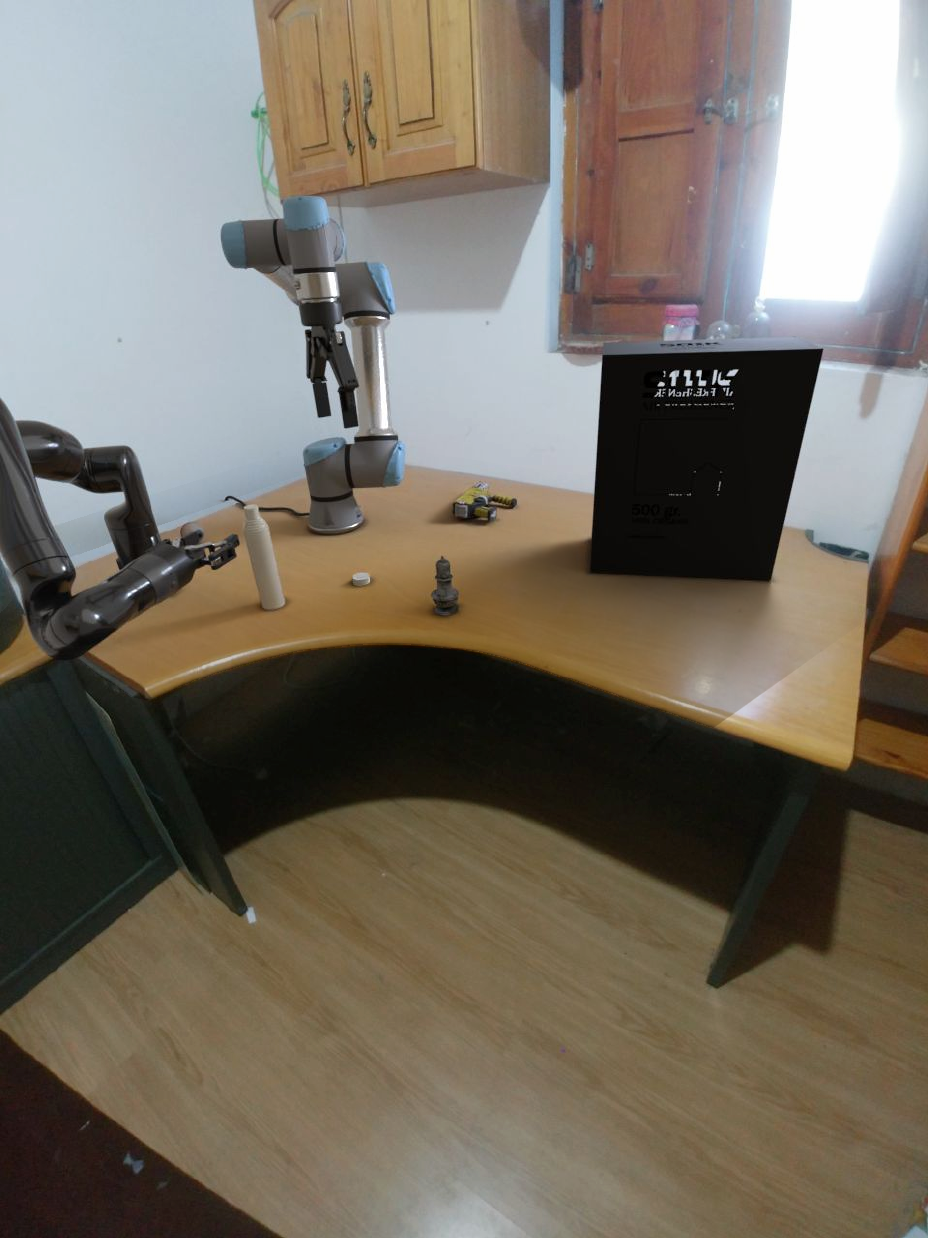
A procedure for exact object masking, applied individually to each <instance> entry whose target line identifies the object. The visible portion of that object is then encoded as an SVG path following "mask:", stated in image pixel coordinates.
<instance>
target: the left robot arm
mask: <svg viewBox="0 0 928 1238" xmlns="http://www.w3.org/2000/svg"><path fill="white" fill-rule="evenodd" d="M36 478H37V479H41V480H44V481H45V480H46V481H49V482H50V481H51V482H56V483H63V484H70V485H72V486H75V487H77V488H79V489H82V490H84V491H86V492H89V493H93V494H101V495H105V494H116V493H117V494H118V493H123V497H124V501H123V502H121V503H119V504H117V505H114V506H113V507H111V508H109V509H108V510H106V511H105V513H103V519H104V523H105V526H106V528H107V531H108V533H109V536H110V538H111V541H112V544H113V548H114V549H115V552H116V555H117V558H116V559H115V563H116V565H117V568H118V571H117V572H114V573H113V574H111V575H109V576H108V577H106V578H104V579H103V580H102V581H100V582H99V583H98V584H95V585H93V586H91V587H90V586H89V587H88V588H85V589H84V590H82V591H80V592H77V593H76V594H73V595H72V588H73V586H74V585H73V584H74V583H75V581H76V578H77V571H76V568H75V566H74V563H73V561H72V560H71V558H70V555H69V554H68V552H67V550H66V548H65V546H64V544H63V542H62V540H61V539H60V537H59V534H58V532H57V531H56V529H55V527H54V525H53V523H52V521H51V518H50V516H49V514H48V511H47V508H46V506H45V503H44V501H43V498H42V495H41V492H40V488H39V486H38V482H37V479H36ZM161 538H162V537H161V535H160V531H159V528H158V525H157V523H156V520H155V517H154V513H153V509H152V504H151V499H150V496H149V492H148V489H147V486H146V482H145V477H144V474H143V470H142V466H141V463H140V460H139V458H138V456H137V454H136V452H135V450H133V448H132V447H131V446H129V445H126V444H120V445H119V444H118V445H117V444H116V445H105V446H95V447H94V446H93V447H83V444H82V443H81V442H80V440H79V439H78V438H77V437H76V436H75V435H74V434H72V433H70V432H69V431H67V430H66V429H63V428H61V427H58V426H55V425H53V424H50V423H47V422H44V421H40V420H34V419H33V420H32V419H18V420H15V418H14V416H13V414H12V412H11V410H10V409H9V407H8V405H7V404H6V402H5V401H4V400H3V398H2V397H1V396H0V555H1V557H2V560H3V561H4V563H5V565H6V567H7V568H8V571H9V572H10V574H11V576H12V578H13V580H14V581H15V583H16V585H17V587H18V590H19V593H20V600H21V604H22V608H23V612H24V616H25V619H26V623H27V627H28V630H29V633H30V635H31V637H32V639H33V641H34V643H35V644H36V645H37V647H38V648H39V649H40V650H41V651H42V652H43V653H44V654H45V655H47V656H48V657H50V658H51V659H55V660H57V661H65V662H66V661H73V660H76V659H78V658H81V657H82V656H84V655H85V654H86V653H88V652H89V651H90V650H92V649H94V648H95V647H97V646H98V645H99V644H101V643H102V642H104V641H105V640H107V639H108V638H109V637H110V636H112V635H113V634H114V633H116V632H117V631H118V630H119V629H121V628H122V627H123V626H124V625H126V624H127V623H129V622H132V621H133V620H135V619H137V618H138V617H140V616H141V615H143V614H144V613H145V612H147V611H148V610H150V609H151V608H153V607H154V606H157V605H159V604H160V603H163V601H166V600H167V599H168V598H170V597H171V596H173V595H174V594H176V593H177V592H178V591H180V590H181V589H183V588H184V587H186V586H187V585H188V584H190V583H191V582H192V580H193V578H194V575H195V572H196V571H197V570H199V569H201V568H203V567H205V566H210V568H211V570H212V571H216V570H219V569H221V568H222V567H224V566H225V565H227V564H228V563H230V562H231V561H233V560H234V559H235V558H237V557H238V555H237V551H236V548H238V547H240V545H241V542H240V538H239V535H238V534H237V533H232V534H230V535H229V536H227V537H225V538H224V539H222V540H221V541H218V542H214V543H212V542H211V541H207V542H204V543H199V537H198V534H197V532H195V531H192V532H190V533H189V534H187V535H185V536H183V537H182V538H181V537H175V538H173V539H172V540H170V538H164V539H161ZM197 543H199V544H197ZM217 548H218V549H217ZM205 549H207V550H208V553H209V554H208V555H207V554H206V550H205Z"/></svg>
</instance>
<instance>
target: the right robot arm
mask: <svg viewBox="0 0 928 1238" xmlns="http://www.w3.org/2000/svg"><path fill="white" fill-rule="evenodd" d="M282 215H283V217H282V218H267V219H265V218H264V219H251V220H250V219H248V220H242V219H239V220H234V221H228V222H225V223H223V224H222V225H221V228H220V243H221V248H222V252H223V255H224V258H225V260H226V261H227V263H228V265H230V267H232V268H234V269H244V270H248V269H254V270H256V271H257V272H258V273H260V274H261V275H263V276H264V277H265V278H267V279H268V281H271V282H272V283H273V284H274V285H276V286H277V287H279V288H280V289H281V290H283V291H284V293H285V295H286V297H287V298H288V300H290V302H292V303H293V304H294V305H295V306H296V307H298V310H299V317H300V324H301V325H302V326H303V327H307V328H308V327H309V328H308V329H304V336H305V348H306V349H305V370H306V371H305V372H306V378H307V380H310V383H311V384H312V385H311V386H312V392H313V398H314V402H315V403H314V404H315V409H316V414H317V418H318V419H321V418H327V417H328V418H329V417H332V411H331V410H332V409H331V403H330V398H329V390H328V384H327V382H328V379H327V377H326V370H327V369H326V368H327V362H328V364H329V366H330V368H331V370H332V373H333V375H334V377H335V380H336V382H337V385H338V387H337V391H336V392H337V393H338V397H339V403H340V409H341V417H342V425H343V429H352V428H358V430H357V432H356V433H355V434H354V435H353V443H347V440H346V439H345V437H342V436H341V437H338V436H335V437H329V438H325V439H324V438H323V439H320V440H316V441H314V442H312V443H309V444H308V445H306V446H305V447H304V448H303V450H302V457H303V467H304V471H305V477H306V481H307V486H308V492H309V498H310V507H309V512H297V511H295V510H294V509H293V508H290V507H284V506H281V507H280V506H278V507H277V506H275V507H274V506H273V507H262V506H258V508H259V509H258V510H259V511H286V512H291V513H292V514H293V515H295V516H297V517H308V521H307V522H308V523H307V524H308V528H309V529H308V530H310V531H311V532H312V533H314V534H317V535H323V536H324V535H325V536H327V535H329V536H331V535H339V534H340V535H341V534H345V533H350V532H353V531H355V530H357V529H359V528H361V527H362V526H363V525H364V523H365V519H364V514H363V512H362V508H361V505H359V504H358V501H357V500H356V498H355V495H354V489H374V488H376V489H377V488H383V489H386V488H391V487H397V486H399V485H401V484H402V481H403V479H404V475H405V466H406V445H405V442H404V441H402V440H399V434H398V433H397V431H395V430H394V429H393V426H392V411H391V400H390V399H391V398H390V397H391V396H390V387H389V386H390V385H389V384H390V383H389V369H388V357H387V344H386V343H387V341H386V329H387V327H389V325H390V324H391V316H393V315H394V314H396V311H397V310H396V301H395V295H394V290H393V284H392V281H391V277H390V273H389V271H388V268H387V266H386V265H385V264H384V263H383V262H381V261H368V260H365V261H359V262H346V263H345V262H344V263H336V262H338V261H339V260H340V259H341V258H342V257H343V255H344V254H345V250H346V246H347V239H346V235H345V232H344V230H343V229H342V227H341V226H340V224H338V223H337V221H336V220H334V219H333V218H331V215H330V213H329V210H328V204H327V201H326V200H325V198H324V197H322V196H319V195H318V196H317V195H300V196H299V195H298V196H291V197H287V198H285V199H284V200H283V202H282ZM342 323H343V324H344V325H345V327H347V328H348V329H349V331H350V337H351V338H350V339H351V350H352V358H351V354H350V351H349V348H348V345H347V338H346V333H345V332H344V330H339V331H337V329H336V326H337V325H340V324H342ZM229 499H231V500H234V501H235V502H237V503H239V504H241V506H242V507H243V508H244V507H245V506H247V505H248V504H246V503H245V502H243V500H241V499H239V498H237V497H235V496H233V495H227V496H225V498H224V501H228V500H229Z"/></svg>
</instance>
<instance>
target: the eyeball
mask: <svg viewBox="0 0 928 1238" xmlns="http://www.w3.org/2000/svg"><path fill="white" fill-rule="evenodd" d="M192 531H195V532H197V534H198V537H199V543H197V544H196V545H200V544H201V543H202V542H203V540H204V539H205V535H206V533H205V528H204V527H203V526H202V525H201V524H200V523H198V522H195V521H190V522H189V521H188V522H186V523H184V524H183V525H182V526H181V528H180V530H179V532H180V533H179V535H180V538H182V537H183V536H185V535H187V534H189V533H190V532H192Z"/></svg>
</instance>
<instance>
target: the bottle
mask: <svg viewBox="0 0 928 1238" xmlns="http://www.w3.org/2000/svg"><path fill="white" fill-rule="evenodd" d="M246 505H247V506H245V507H244V506H243V511H244V515H245V518H244V523H243V526H242V533H243V536H244V539H245V544H246V548H247V553H248V555H249V561H250V564H251V568H252V571H253V576H254V580H255V584H256V588H257V593H258V596H259V600H260V605H261V607H262V609H263V610H268V611H274V610H278V609H280V608H282V607H284V606H285V605H286V602H287V601H286V598H285V594H284V588H283V585H282V580H281V576H280V571H279V567H278V563H277V558H276V554H275V550H274V544H273V541H272V537H271V536H272V535H271V532H270V531H271V530H270V527H269V525H268V522H266V520H265V519H264V518H263V516H261V514H260V510H258V509H259V508H258V507H259V505H257V504H255V503H254V504H253V503H252V504H246Z"/></svg>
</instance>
